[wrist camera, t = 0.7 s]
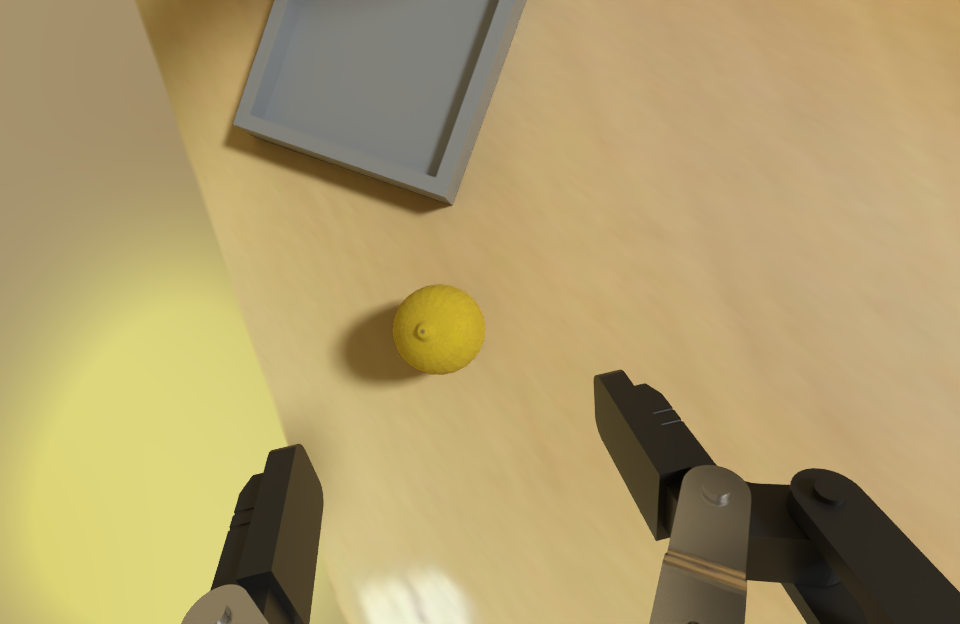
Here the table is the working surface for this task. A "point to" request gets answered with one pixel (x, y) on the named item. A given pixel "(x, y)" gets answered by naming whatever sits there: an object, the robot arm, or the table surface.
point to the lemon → (438, 329)
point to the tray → (380, 84)
